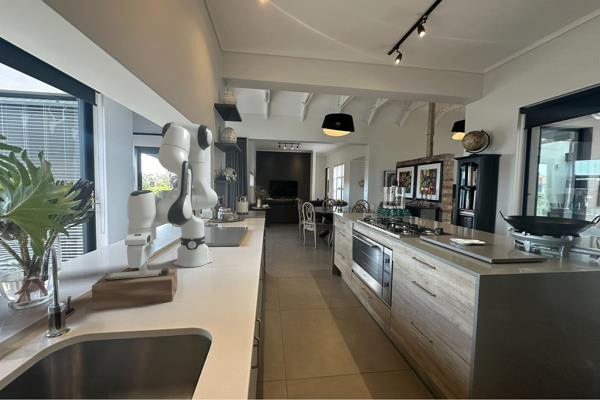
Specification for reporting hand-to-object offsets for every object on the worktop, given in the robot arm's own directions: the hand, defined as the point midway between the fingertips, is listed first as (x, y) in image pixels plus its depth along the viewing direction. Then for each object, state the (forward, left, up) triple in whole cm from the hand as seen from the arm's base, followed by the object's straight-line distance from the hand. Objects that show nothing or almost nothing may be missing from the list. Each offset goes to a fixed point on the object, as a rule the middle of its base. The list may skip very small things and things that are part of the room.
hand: (143, 272), depth 96 cm
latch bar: (0, -3, -1) cm, 3 cm away
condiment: (-19, -7, -10) cm, 23 cm away
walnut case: (0, -2, -9) cm, 10 cm away
